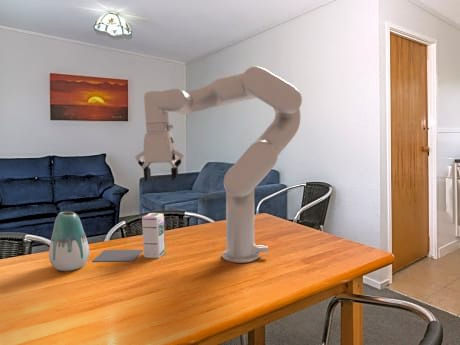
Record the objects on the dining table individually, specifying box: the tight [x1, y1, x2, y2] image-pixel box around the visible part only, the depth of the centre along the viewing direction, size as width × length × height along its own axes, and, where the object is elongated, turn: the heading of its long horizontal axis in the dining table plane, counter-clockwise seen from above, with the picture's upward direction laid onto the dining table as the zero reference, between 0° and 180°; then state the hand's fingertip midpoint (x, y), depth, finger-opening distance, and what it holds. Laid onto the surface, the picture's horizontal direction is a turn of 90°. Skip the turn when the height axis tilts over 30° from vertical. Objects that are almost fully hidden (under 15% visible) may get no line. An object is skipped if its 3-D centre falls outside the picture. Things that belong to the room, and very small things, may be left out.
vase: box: [48, 211, 90, 272], centre depth 107 cm, size 12×12×18 cm
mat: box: [91, 249, 144, 263], centre depth 118 cm, size 14×11×1 cm
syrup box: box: [141, 212, 166, 259], centre depth 117 cm, size 6×6×14 cm
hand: (161, 179), depth 115 cm, fingers open, 9 cm apart
